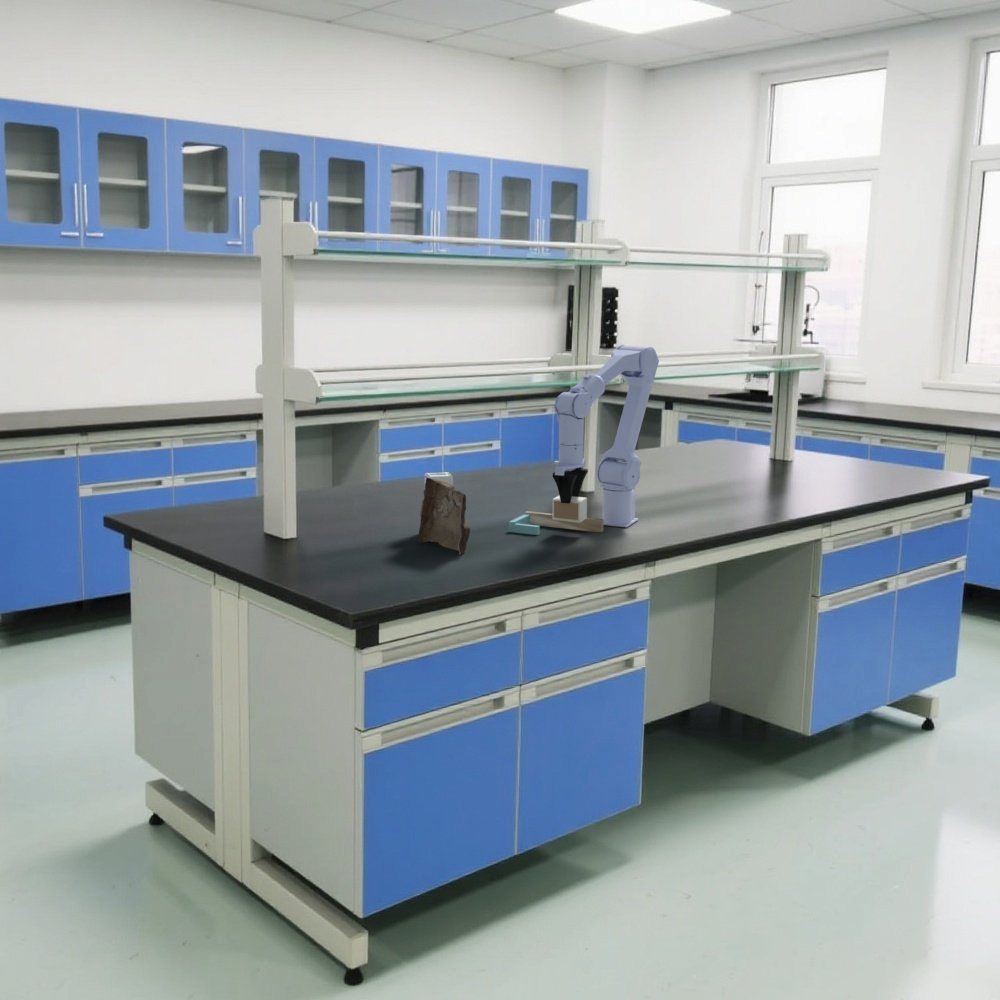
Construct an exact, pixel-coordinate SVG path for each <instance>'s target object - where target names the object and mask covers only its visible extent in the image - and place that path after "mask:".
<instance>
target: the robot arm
mask: <svg viewBox="0 0 1000 1000" xmlns="http://www.w3.org/2000/svg"><path fill="white" fill-rule="evenodd" d="M659 363H660V360H659V357H658V354H657V352H656V350H655V348H654V347H652V346H637V345H636V346H633V345H631V346H630V345H624V344H620V345H618V346H617V347H616V348H615V349H614V350H612V351H611V356H610V358H609V359H608V360H607V361H606V362H605V363H604V365H603V366H602V367H601V368H600V369H599V370H598V371H597V372H596V373H595V374H594V373H590V374H586V373H585V375H584V376H583V377H582V379H581V380H580V381H579V382H578V383H577V384H576V385H574V386H572V387H571V388H570V390H569V391H563V392H561V393H560V394H559V395H558V396H557V397H556V399H555V402H554V404H553V409H554V412H555V414H556V421H557V424H559V425H558V460H555V461H553V465H554V466H555V465H556V466H555V467H554V469H555V470H554V472H553V473H552V478H553V480H554V482H555V484H556V488H557V490H558V491H557V492H558V496H560V500H561V503H568V504H569V503H570V502H571V497H572V496H575V497H580V494H581V489H582V486H583V483H584V481H585V478H586V476H587V475H588V472H589V469H588V468H583V467H586V457H585V458H584V429H585V428H584V427H585V426H584V425H585V417H587V416H588V414H589V412H590V409H591V407H592V405H593V403H594V402H596V400H597V399H598V398H600V397H601V396H602V395H603V394H604V393H605V391H606V385H607V384H609V383H610V382H612V381H613V380H614V379H616V378H617V377H618V376H620V377H621V378H622V380H623V381H625V382H626V383H627V385H628V390H627V394H626V398H625V401H624V405H623V408H622V413H621V416H620V419H619V424H618V428H617V431H616V435H615V439H614V442H613V445H612V447H611V448H610V449H608V450H606V451H605V452H604V453H603V454H602V458H601V460H600V461H599V463H598V465H597V467H596V470H595V473H596V474H595V475H596V479H597V482H598V483H599V484H600V488H602V508H601V509H602V510H601V513H602V514H601V519H603V526H608V527H610V526H612V527H619V528H628V527H630V526H631V525H633V524H634V523H637V521H639V518H637V517H636V515H635V514H636V494H635V492H634V490H635V488H636V487H637V485H638V484H639V481H640V479H641V478H640V477H641V464H642V461H641V459H640V457H638V455H637V454H636V453H635V450H636V446H637V443H638V439H639V435H640V432H641V428H642V424H643V420H644V418H645V413H646V409H647V405H648V402H649V398H650V393H651V391H652V387H653V383H654V381H655V378H656V374H657V370H658V366H659Z"/></svg>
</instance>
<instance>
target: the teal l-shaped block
mask: <svg viewBox="0 0 1000 1000" xmlns="http://www.w3.org/2000/svg"><path fill="white" fill-rule="evenodd" d="M540 529H541V526H538V525H530V515H528V514H525V513H524V514H522V515H520V516H518V517H515V518H513V519H512V520H509V522H508V532H509V533H517V534H525V535H532V536H534V535H535V536H538V535H540V534H541V533H540V532H541V531H540Z"/></svg>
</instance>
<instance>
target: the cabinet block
mask: <svg viewBox="0 0 1000 1000" xmlns="http://www.w3.org/2000/svg"><path fill="white" fill-rule="evenodd" d="M551 500H552V503H551V507H552V509H551V510H552V511H551V512H552V513H551V514H552V520H560V521H569V522H578V523H580V522H582V521H583V520H585V519H586V518H588V497H583V496H579V497H575V496H572V497H571V502H570V503H569V504H568V503H561V500H560V496H559V495H557V496H556V497H554V498H552V499H551Z"/></svg>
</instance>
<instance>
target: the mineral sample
mask: <svg viewBox="0 0 1000 1000" xmlns="http://www.w3.org/2000/svg"><path fill="white" fill-rule="evenodd" d="M455 488H456V487H454V485H453V486H452V485H450V484H449V483H447V482H445V481H441V480H434V479H430V478H427V479H426V483H425V482H424V489H423V499H422V501H421V507H420V512H419V515H420V523H419V531H418V537H419V543H420V542H421V543H428V541H430V542H431V543H437V542H438V543H439V544H438V543H437V544H438V545H440V546H441V545H442V546H441V547H444V548H447V549H451V550H455V551H458V556H461V555H464V554H465V552H466V550H467V544H468V541H469V538H470V533H471V528H470V527H469V526H468V525H467V524H466V517H465V515H466V514H465V513H466V510H467V495H466V494H465V493H463V492H461V491H460V490H457V489H455ZM430 542H429V543H430Z"/></svg>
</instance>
